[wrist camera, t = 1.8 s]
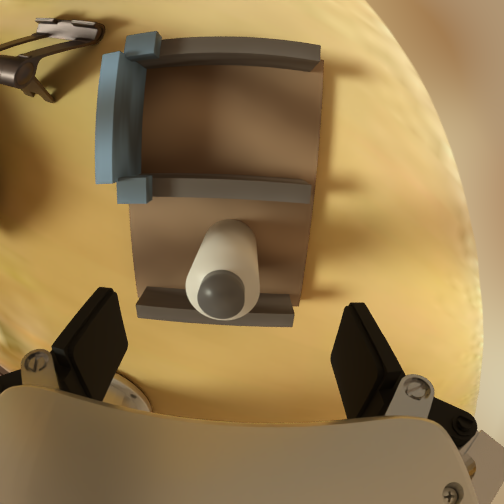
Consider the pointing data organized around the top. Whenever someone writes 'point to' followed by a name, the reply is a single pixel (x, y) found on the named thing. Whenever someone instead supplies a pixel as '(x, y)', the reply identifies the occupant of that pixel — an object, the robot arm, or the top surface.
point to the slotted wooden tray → (212, 160)
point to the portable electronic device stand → (45, 52)
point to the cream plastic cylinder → (225, 272)
